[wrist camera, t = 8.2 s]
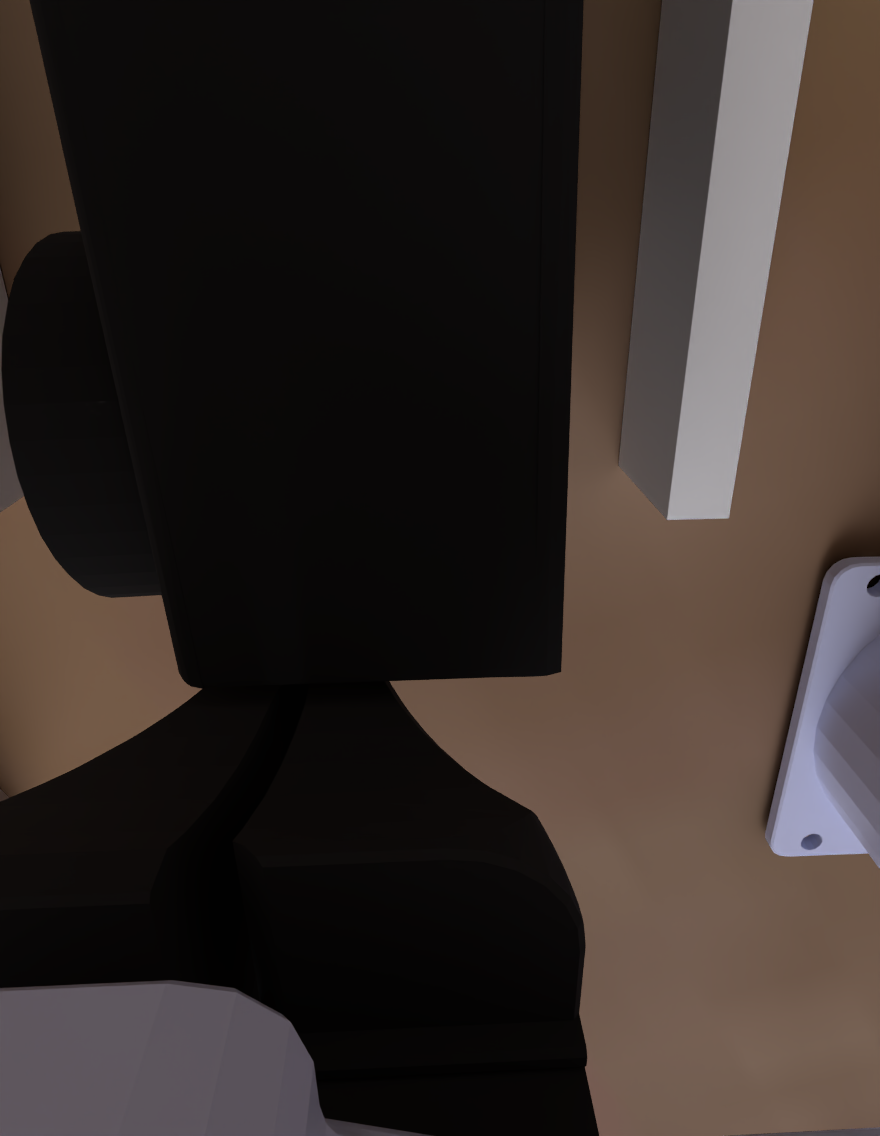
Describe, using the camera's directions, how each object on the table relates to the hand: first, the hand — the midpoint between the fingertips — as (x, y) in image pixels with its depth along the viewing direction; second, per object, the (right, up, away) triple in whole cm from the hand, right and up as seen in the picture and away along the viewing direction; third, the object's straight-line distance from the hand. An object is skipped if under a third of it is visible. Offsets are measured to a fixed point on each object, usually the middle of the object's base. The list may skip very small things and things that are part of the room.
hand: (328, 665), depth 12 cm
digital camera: (0, +8, 0) cm, 8 cm away
